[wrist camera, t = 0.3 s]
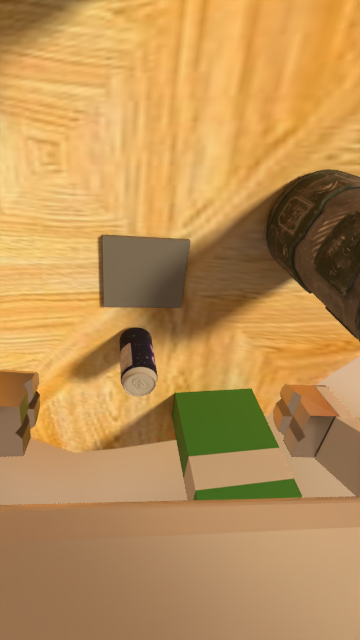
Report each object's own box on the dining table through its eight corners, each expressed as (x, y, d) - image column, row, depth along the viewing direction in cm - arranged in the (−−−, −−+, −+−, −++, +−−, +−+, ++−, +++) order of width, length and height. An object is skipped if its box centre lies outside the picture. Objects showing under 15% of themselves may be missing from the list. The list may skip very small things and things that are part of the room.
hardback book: (251, 388, 72) (302, 496, 52) (244, 410, 76) (288, 517, 57) (175, 392, 68) (199, 509, 49) (171, 415, 72) (193, 531, 53)
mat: (102, 234, 46) (102, 236, 45) (189, 239, 49) (190, 241, 48) (103, 304, 53) (103, 307, 52) (180, 305, 55) (180, 307, 55)
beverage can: (130, 353, 60) (133, 403, 50) (113, 334, 56) (113, 382, 47) (156, 340, 59) (164, 387, 49) (140, 319, 56) (146, 366, 46)
